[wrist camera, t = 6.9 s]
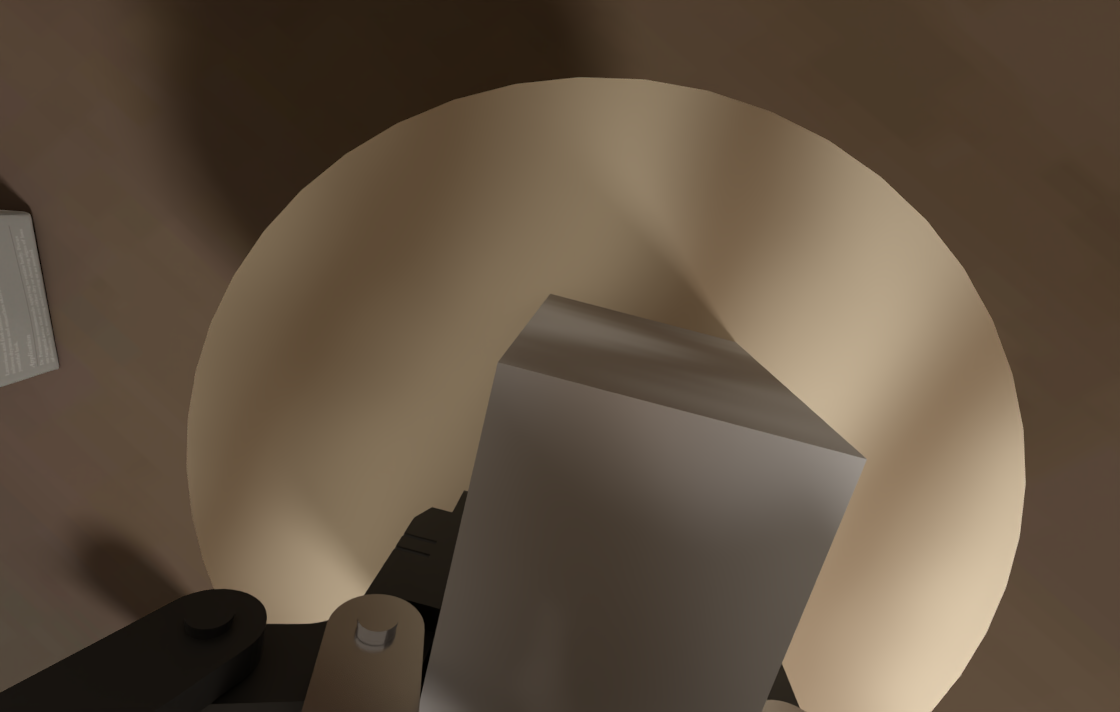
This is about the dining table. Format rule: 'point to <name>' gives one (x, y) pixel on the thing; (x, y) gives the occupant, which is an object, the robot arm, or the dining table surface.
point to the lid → (618, 408)
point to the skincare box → (22, 303)
